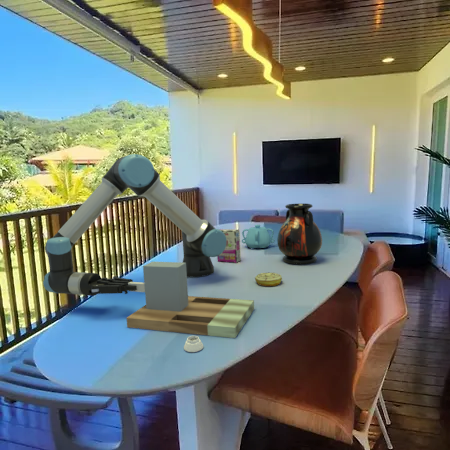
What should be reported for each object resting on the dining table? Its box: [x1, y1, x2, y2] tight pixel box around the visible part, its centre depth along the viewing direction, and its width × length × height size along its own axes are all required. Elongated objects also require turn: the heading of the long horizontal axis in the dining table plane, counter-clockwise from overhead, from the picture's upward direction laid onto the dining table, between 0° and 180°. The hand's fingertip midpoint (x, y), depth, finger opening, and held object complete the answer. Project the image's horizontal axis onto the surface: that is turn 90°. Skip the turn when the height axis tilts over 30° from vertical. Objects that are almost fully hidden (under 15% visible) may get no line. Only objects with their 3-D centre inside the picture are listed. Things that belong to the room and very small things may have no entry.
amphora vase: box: [277, 203, 323, 266], centre depth 180 cm, size 22×22×28 cm
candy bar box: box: [217, 228, 241, 264], centre depth 187 cm, size 11×5×16 cm, turn 62°
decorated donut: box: [254, 272, 283, 287], centre depth 149 cm, size 10×11×4 cm
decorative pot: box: [241, 224, 275, 249], centre depth 219 cm, size 16×16×14 cm
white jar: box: [183, 335, 204, 353], centre depth 96 cm, size 5×3×5 cm
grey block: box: [142, 261, 189, 312], centre depth 118 cm, size 6×12×14 cm, turn 72°
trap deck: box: [126, 295, 255, 339], centre depth 116 cm, size 22×34×3 cm, turn 72°
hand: (146, 287), depth 119 cm, fingers closed
